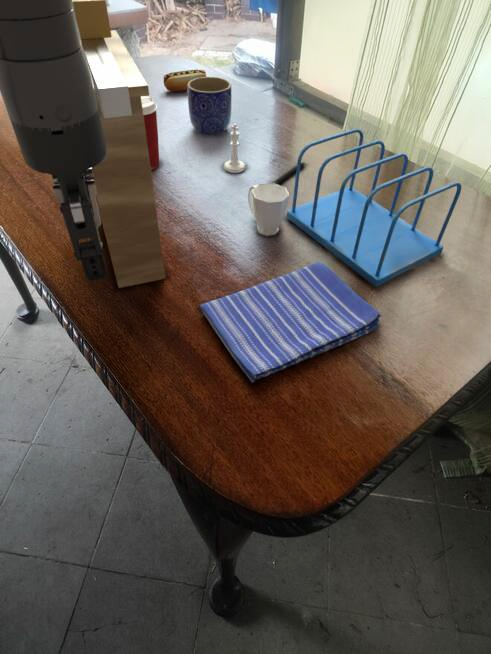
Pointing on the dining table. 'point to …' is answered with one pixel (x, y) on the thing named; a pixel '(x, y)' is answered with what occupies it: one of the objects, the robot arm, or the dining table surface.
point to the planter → (209, 104)
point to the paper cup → (151, 130)
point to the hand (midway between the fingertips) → (94, 254)
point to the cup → (268, 206)
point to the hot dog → (181, 79)
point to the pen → (287, 174)
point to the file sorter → (368, 220)
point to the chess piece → (234, 154)
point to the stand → (128, 184)
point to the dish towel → (289, 319)
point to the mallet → (101, 58)
